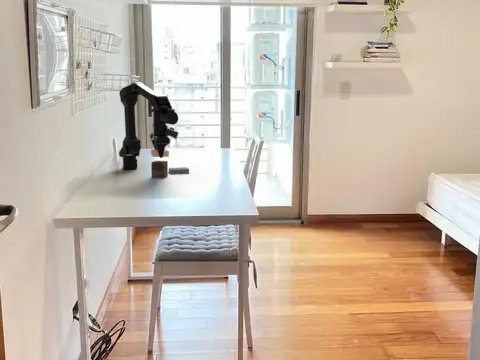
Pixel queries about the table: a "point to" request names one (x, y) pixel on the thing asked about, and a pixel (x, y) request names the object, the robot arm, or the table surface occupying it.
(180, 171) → the block
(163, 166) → the box
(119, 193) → the table surface
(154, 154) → the tile
